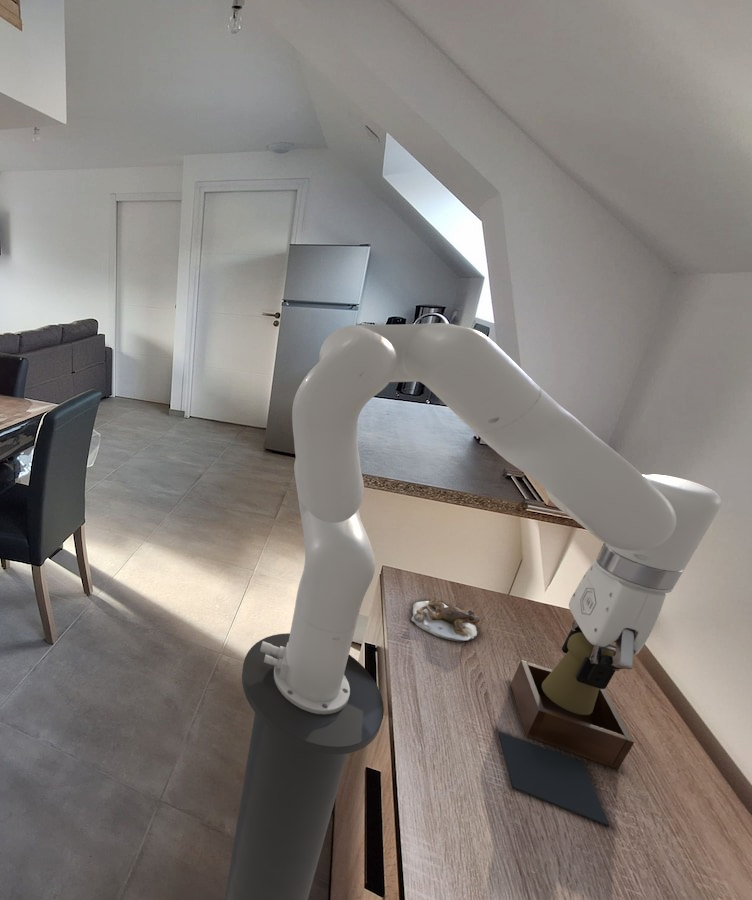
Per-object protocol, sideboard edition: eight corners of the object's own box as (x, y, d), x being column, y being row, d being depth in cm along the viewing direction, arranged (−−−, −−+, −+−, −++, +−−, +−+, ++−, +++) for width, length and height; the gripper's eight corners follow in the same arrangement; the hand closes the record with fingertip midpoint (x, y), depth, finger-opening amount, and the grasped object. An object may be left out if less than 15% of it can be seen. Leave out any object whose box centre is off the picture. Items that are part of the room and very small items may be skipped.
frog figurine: (476, 615, 93) (482, 600, 92) (478, 652, 84) (484, 636, 82) (414, 594, 99) (418, 579, 97) (409, 626, 89) (414, 610, 88)
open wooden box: (526, 736, 68) (538, 710, 66) (510, 684, 77) (520, 659, 75) (618, 769, 64) (634, 742, 62) (590, 710, 73) (603, 685, 71)
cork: (601, 721, 65) (635, 663, 61) (551, 706, 67) (581, 649, 63) (581, 688, 70) (611, 633, 66) (534, 675, 72) (561, 621, 68)
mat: (512, 788, 61) (513, 786, 61) (498, 732, 69) (499, 731, 68) (608, 826, 57) (609, 825, 57) (582, 763, 65) (583, 761, 64)
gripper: (577, 529, 69) (534, 623, 75) (628, 593, 54) (569, 703, 61) (642, 543, 66) (591, 640, 72) (715, 615, 51) (642, 728, 58)
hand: (582, 668), depth 67 cm, fingers closed on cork, 5 cm apart
